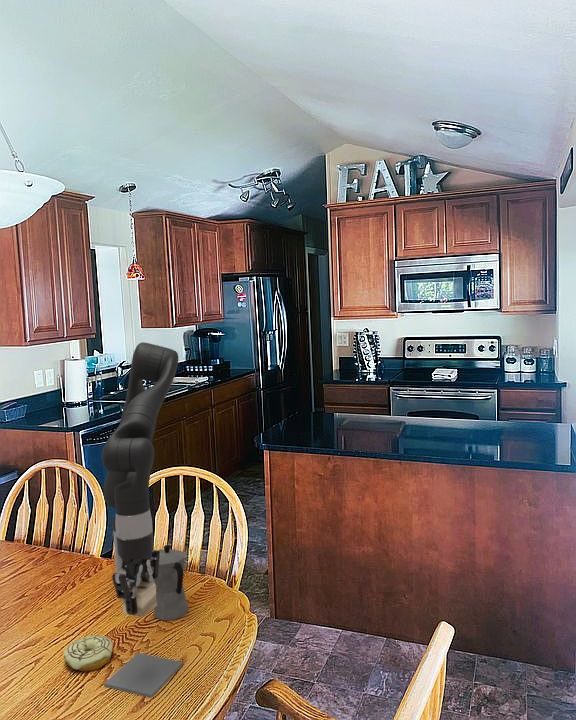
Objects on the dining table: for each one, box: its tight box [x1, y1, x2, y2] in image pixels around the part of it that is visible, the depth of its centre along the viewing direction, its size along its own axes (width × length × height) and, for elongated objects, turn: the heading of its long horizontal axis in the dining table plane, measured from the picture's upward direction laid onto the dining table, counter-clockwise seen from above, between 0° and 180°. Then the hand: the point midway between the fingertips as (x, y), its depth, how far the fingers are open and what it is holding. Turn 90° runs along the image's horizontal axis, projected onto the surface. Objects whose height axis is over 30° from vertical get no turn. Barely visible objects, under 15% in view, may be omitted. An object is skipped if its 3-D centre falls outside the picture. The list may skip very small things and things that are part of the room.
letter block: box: [121, 581, 157, 618], centre depth 134 cm, size 5×5×5 cm
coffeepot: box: [151, 544, 189, 622], centre depth 160 cm, size 15×9×18 cm, turn 33°
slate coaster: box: [103, 652, 184, 699], centre depth 135 cm, size 12×12×1 cm
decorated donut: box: [63, 634, 114, 672], centre depth 142 cm, size 10×11×4 cm
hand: (140, 607), depth 134 cm, fingers closed on letter block, 5 cm apart
